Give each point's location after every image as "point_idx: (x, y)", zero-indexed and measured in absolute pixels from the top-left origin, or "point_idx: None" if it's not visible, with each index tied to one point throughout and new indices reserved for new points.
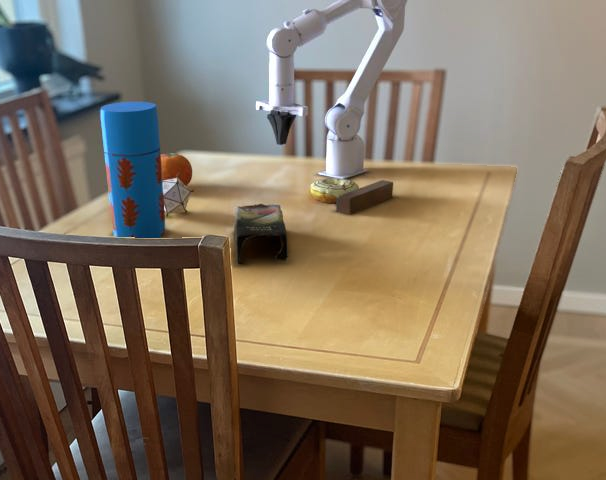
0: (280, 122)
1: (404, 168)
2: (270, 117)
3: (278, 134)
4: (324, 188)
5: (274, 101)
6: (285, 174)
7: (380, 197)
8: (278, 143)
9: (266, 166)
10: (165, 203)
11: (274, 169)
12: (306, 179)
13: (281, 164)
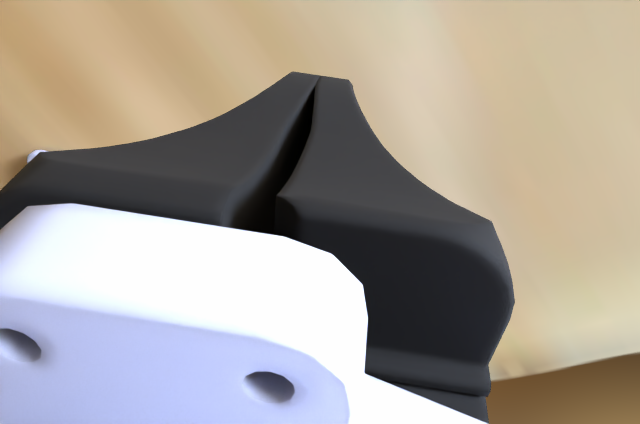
0: (141, 155)
1: None
2: (379, 209)
3: (286, 107)
4: None
5: None
6: (383, 108)
7: None
8: (318, 76)
9: (589, 208)
10: None
11: (508, 174)
12: (200, 70)
13: (515, 268)
